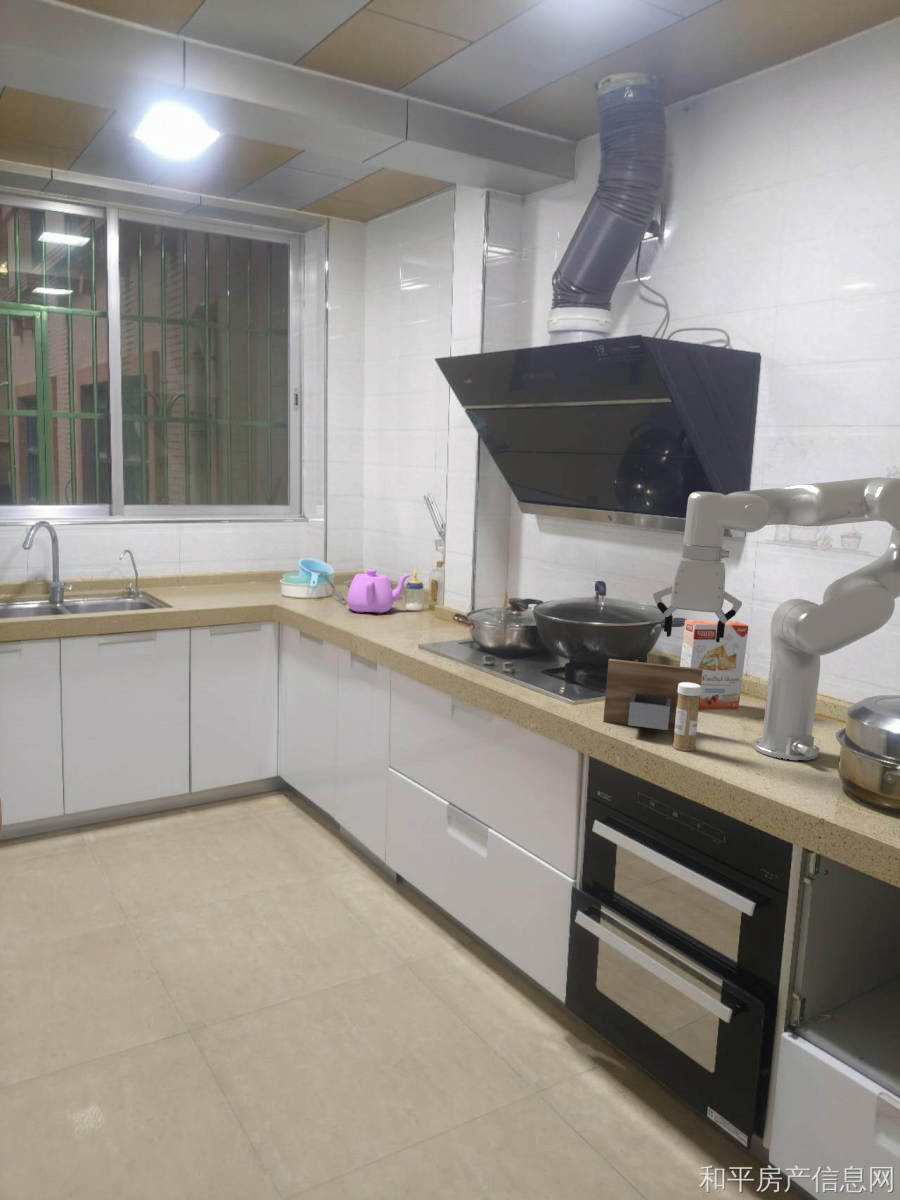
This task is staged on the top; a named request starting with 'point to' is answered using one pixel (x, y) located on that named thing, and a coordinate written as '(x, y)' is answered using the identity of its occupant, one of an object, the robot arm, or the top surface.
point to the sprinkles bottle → (686, 716)
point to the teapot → (373, 592)
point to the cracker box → (716, 661)
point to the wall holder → (645, 693)
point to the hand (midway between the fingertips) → (693, 638)
